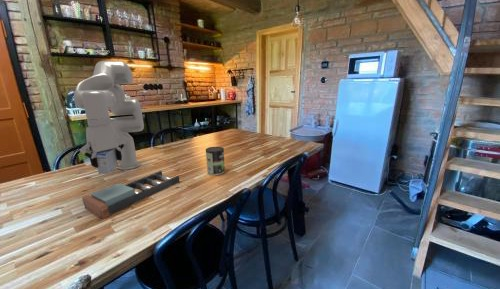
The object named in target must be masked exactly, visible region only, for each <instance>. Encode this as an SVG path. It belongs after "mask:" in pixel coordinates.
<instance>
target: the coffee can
mask: <svg viewBox="0 0 500 289" xmlns="http://www.w3.org/2000/svg"><path fill="white" fill-rule="evenodd" d="M224 149H225V148H224V147H222V146H211V147H207V148H206V149H205V158H206V168H207V174H208V175H211V176H218V175H219V176H221V175H223V174H225V172H226V170H225V168H226V167H225V152H224V151H225V150H224Z"/></svg>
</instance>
